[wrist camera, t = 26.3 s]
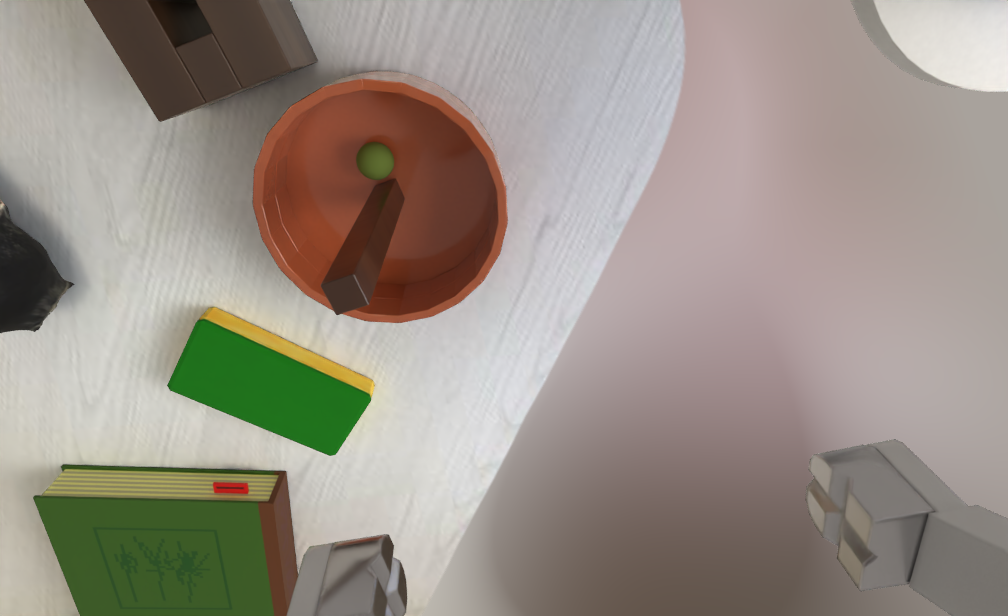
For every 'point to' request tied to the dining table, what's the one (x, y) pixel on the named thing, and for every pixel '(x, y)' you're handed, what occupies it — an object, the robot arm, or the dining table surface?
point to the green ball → (375, 160)
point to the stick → (364, 250)
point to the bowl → (417, 167)
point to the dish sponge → (270, 382)
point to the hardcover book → (172, 540)
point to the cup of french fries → (25, 279)
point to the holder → (202, 47)
